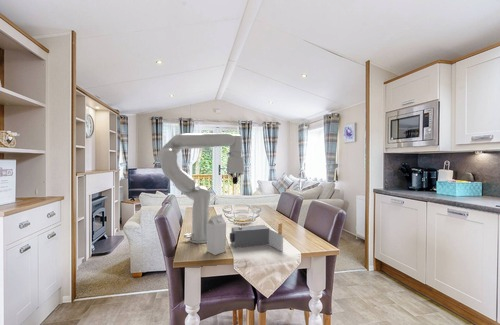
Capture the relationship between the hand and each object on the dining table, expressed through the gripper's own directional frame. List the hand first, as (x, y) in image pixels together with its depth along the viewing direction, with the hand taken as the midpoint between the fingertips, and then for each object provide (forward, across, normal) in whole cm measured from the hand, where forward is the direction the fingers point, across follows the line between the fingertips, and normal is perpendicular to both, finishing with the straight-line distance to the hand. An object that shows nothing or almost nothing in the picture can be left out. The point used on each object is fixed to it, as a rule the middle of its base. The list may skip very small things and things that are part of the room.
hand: (235, 183), depth 168 cm
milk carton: (+32, -17, -26) cm, 45 cm away
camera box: (+32, +4, -19) cm, 38 cm away
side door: (+32, +15, -30) cm, 46 cm away
